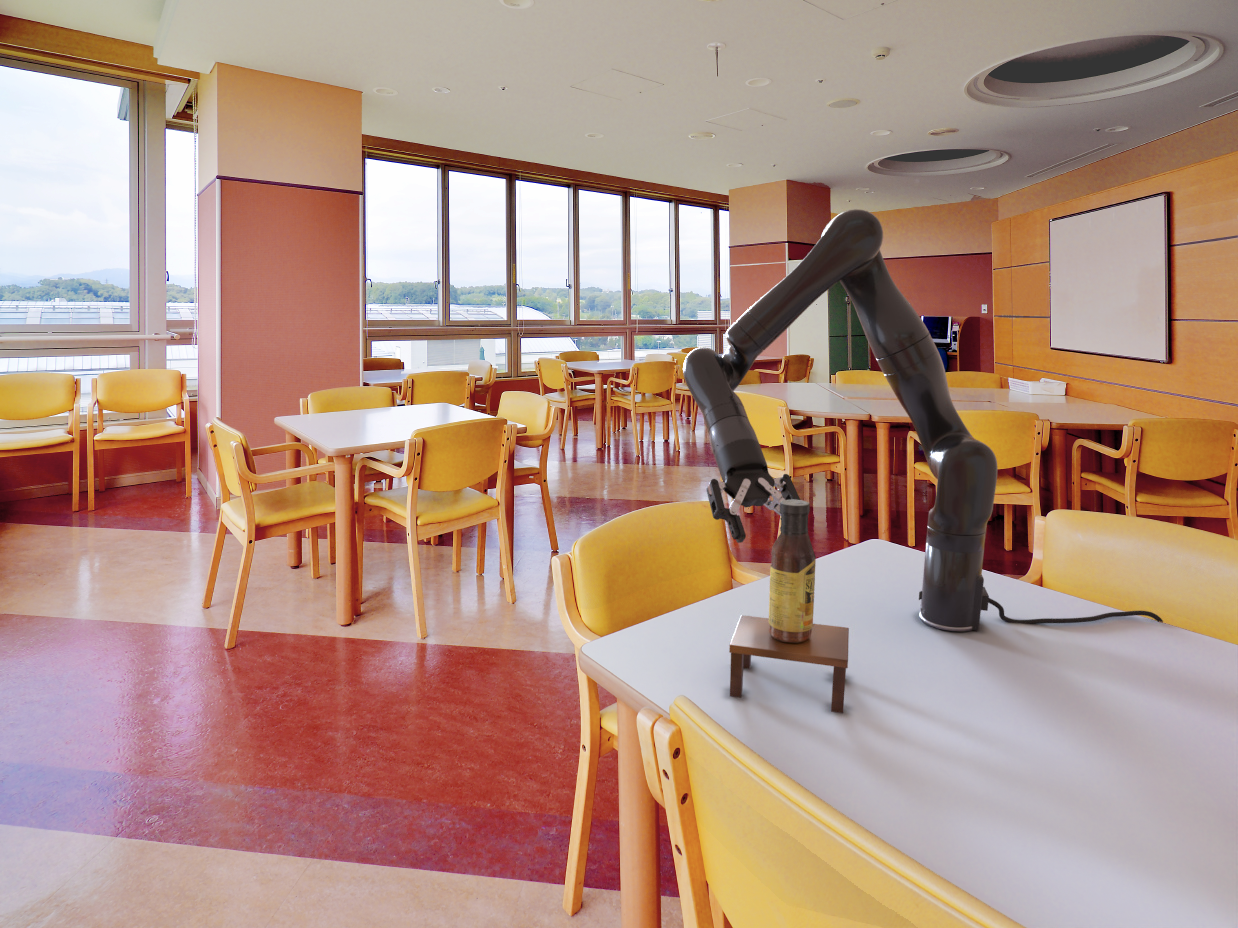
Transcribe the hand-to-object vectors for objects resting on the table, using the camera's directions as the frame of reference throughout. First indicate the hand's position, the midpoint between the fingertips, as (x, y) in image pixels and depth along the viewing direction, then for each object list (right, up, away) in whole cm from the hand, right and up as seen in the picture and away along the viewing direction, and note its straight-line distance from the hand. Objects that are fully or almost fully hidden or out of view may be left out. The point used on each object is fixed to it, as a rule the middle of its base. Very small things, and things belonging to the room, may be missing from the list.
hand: (767, 537), depth 111 cm
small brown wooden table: (+2, -22, -3) cm, 22 cm away
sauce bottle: (+2, -14, -5) cm, 15 cm away
